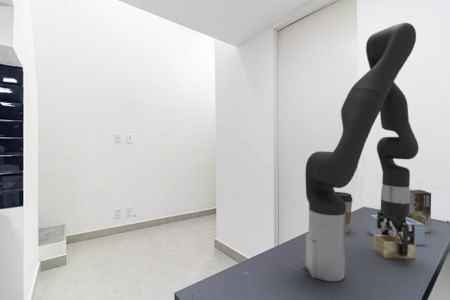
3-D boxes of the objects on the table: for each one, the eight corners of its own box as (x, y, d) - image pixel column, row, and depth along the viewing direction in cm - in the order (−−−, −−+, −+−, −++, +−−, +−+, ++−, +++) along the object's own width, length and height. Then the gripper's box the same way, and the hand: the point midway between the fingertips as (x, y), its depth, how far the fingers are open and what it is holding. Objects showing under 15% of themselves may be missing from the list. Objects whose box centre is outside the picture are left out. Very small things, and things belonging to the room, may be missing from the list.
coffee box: (419, 227, 101) (420, 189, 100) (430, 232, 94) (432, 192, 94) (396, 226, 101) (397, 188, 101) (406, 231, 95) (407, 192, 94)
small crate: (384, 258, 73) (385, 242, 73) (373, 249, 79) (373, 234, 79) (414, 259, 73) (415, 243, 72) (401, 250, 79) (401, 235, 78)
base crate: (386, 244, 83) (386, 224, 83) (368, 232, 94) (368, 214, 94) (424, 245, 83) (425, 225, 82) (402, 233, 94) (402, 215, 93)
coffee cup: (328, 231, 94) (329, 194, 94) (329, 225, 102) (330, 190, 101) (351, 235, 90) (352, 197, 90) (351, 228, 98) (352, 193, 97)
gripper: (370, 194, 82) (368, 240, 83) (398, 205, 68) (396, 260, 69) (392, 194, 82) (390, 240, 83) (425, 205, 68) (423, 261, 68)
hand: (393, 249), depth 76 cm, fingers open, 8 cm apart
